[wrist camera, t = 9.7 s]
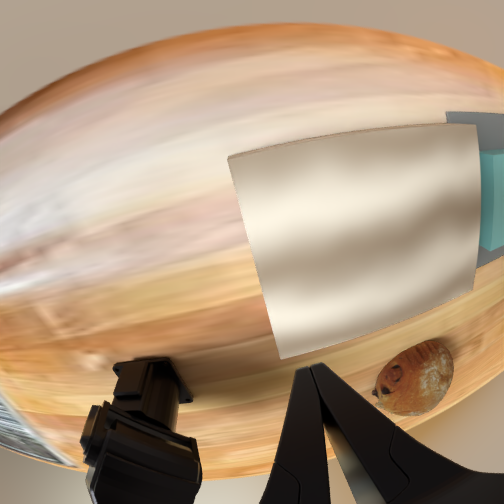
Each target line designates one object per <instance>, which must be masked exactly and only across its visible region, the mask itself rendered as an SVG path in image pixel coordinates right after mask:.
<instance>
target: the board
mask: <svg viewBox="0 0 504 504" xmlns="http://www.w3.org/2000/svg"><path fill="white" fill-rule="evenodd" d="M227 161H228V164H229V168H230V172H231V176H232V179H233V183H234V187H235V191H236V194H237V198H238V202H239V206H240V209H241V213H242V217H243V221H244V225H245V228H246V232H247V236H248V240H249V243H250V247H251V251H252V255H253V258H254V262H255V266H256V270H257V273H258V277H259V281H260V285H261V288H262V292H263V296H264V300H265V303H266V307H267V311H268V315H269V318H270V322H271V326H272V330H273V333H274V337H275V341H276V345H277V348H278V352H279V356H280V360H281V359H285V358H289V357H293V356H297V355H301V354H304V353H308V352H312V351H315V350H319V349H322V348H326V347H329V346H332V345H335V344H339V343H342V342H345V341H348V340H351V339H354V338H357V337H360V336H363V335H366V334H369V333H372V332H375V331H378V330H380V329H383V328H386V327H388V326H391V325H394V324H396V323H399V322H401V321H404V320H407V319H409V318H412V317H414V316H416V315H419V314H421V313H424V312H426V311H428V310H431V309H433V308H435V307H437V306H440V305H442V304H444V303H446V302H448V301H451V300H453V299H455V298H457V297H459V296H461V295H463V294H465V293H467V292H469V291H471V290H473V284H474V278H475V272H476V264H477V256H478V247H479V235H480V219H481V173H480V156H479V145H478V136H477V128H476V125H472V124H453V123H436V124H419V125H405V126H394V127H384V128H375V129H367V130H359V131H352V132H345V133H338V134H332V135H326V136H320V137H314V138H309V139H303V140H298V141H293V142H288V143H283V144H278V145H274V146H269V147H265V148H261V149H256V150H252V151H248V152H244V153H240V154H236V155H232V156H228V159H227Z"/></svg>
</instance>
